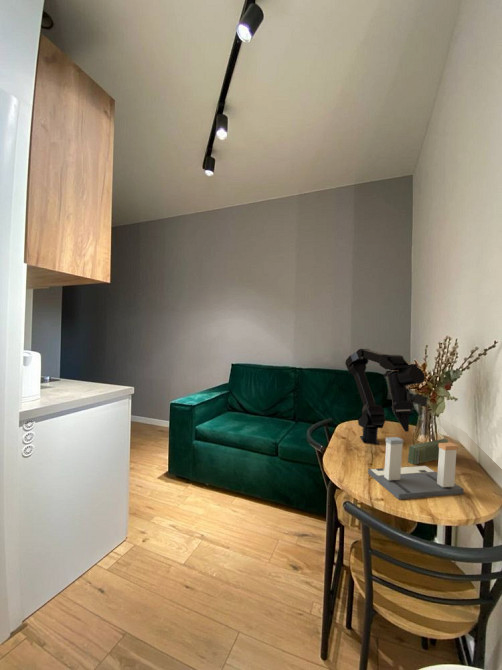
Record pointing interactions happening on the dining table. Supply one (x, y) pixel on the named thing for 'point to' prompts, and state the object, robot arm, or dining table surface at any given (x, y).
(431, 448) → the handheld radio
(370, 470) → the switch bank
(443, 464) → the lever
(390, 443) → the lever
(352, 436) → the dining table surface
